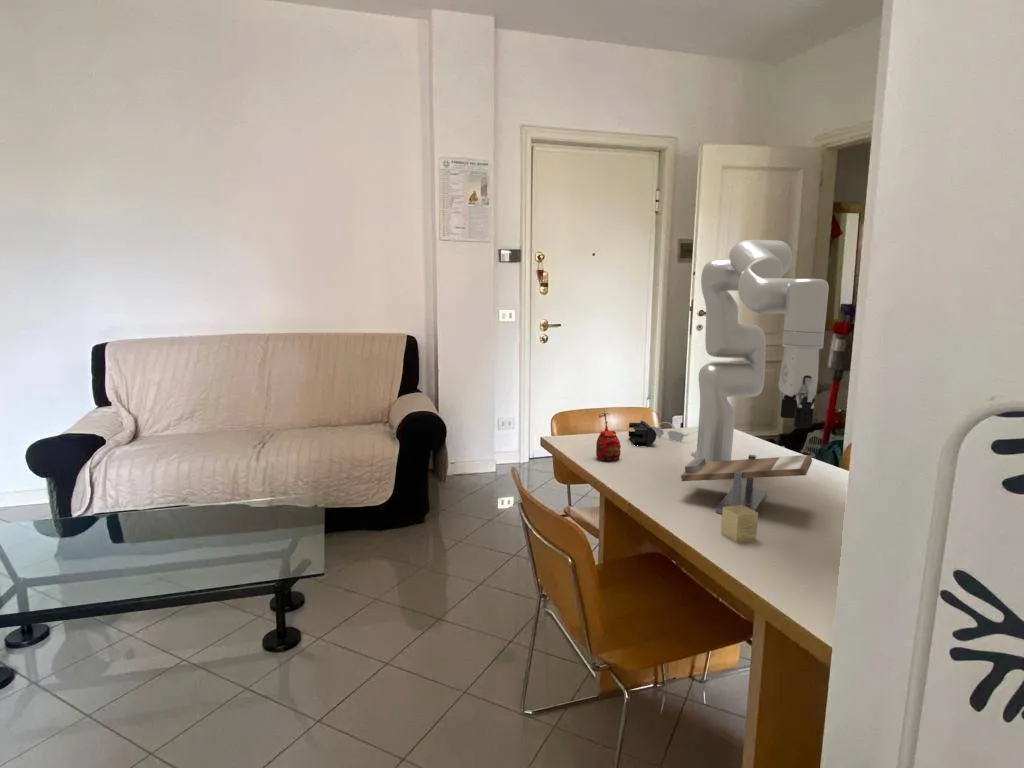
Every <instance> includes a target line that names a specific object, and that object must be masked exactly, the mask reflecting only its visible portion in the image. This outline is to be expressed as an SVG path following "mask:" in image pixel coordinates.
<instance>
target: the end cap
mask: <svg viewBox="0 0 1024 768" xmlns="http://www.w3.org/2000/svg"><path fill="white" fill-rule="evenodd" d="M650 426H651V425H649V424H648V423H647V422H646V421H644V420H640V422H628V428H629V429H633V430H632V431H631V430H628V441H629V440H630V441H631V442H632V443H633V444H632V443H631V442H630V441H629V442H630V443H631V444H632V445H635V446H637V445H638V446H647V447H650V446H651V445H653V444H654V443H655V441H656V440H657V437H656V432H655V431H654V429H652V428H651V427H650ZM635 446H634V447H635Z"/></svg>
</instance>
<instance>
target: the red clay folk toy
mask: <svg viewBox="0 0 1024 768" xmlns="http://www.w3.org/2000/svg"><path fill="white" fill-rule="evenodd" d="M603 412H604V413H602V414H599V415H598V418H603V417H604V422H605V423H604V424H605V428H604V430H602V431H600V433H599V435H598V436H597V440H596V449H595V450H596V451H595V453H596V454H595V455H596V458H597V459H598V460H600V461H601V462H605V461H606V462H607V461H608V462H610V461H612V462H616V461H619V460H620V457H621V456H620V455H621V451H622V450H621V447H622V446H621V441H620V440H619V438H618V435H617V432H616V431H615V430H609V428H608V420H607V414H609V413H608V412H607V413H606V410H605V409H603Z"/></svg>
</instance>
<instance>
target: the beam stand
mask: <svg viewBox="0 0 1024 768" xmlns="http://www.w3.org/2000/svg"><path fill="white" fill-rule="evenodd" d="M747 459H757V455H755V454H749V455H748V458H747ZM743 479H744V478H743V472H738V471H735V473H734V479H733V484H732V488H730V490H729V491H728V492H727V494H726V495H725V496H724V497H723V499H722V500H721V501H720V503H719V504H718V505H717V506H716V508H715V513H716V514H720V515H722V513H723V507H726V506H735V505H744V506H746V507H748V508H750V509H752V510H753V511H755V512H757V513H758V511H759V509H760V508H761V505H762V504H763V502H764V500H765V499H766V497H767V496H768V490H765V489H760V488H754V486H755V478H745V480H746V482H745V483H746V484H745V486H743Z"/></svg>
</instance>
